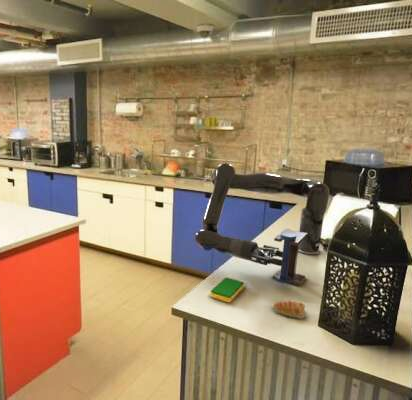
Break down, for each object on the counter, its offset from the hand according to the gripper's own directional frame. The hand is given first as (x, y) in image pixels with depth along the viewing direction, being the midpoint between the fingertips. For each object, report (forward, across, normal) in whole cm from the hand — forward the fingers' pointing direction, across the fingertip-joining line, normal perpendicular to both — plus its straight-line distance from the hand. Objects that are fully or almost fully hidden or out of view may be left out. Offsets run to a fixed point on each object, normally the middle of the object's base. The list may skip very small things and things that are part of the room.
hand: (285, 259), depth 136 cm
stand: (0, +5, +11) cm, 12 cm away
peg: (0, 0, +8) cm, 8 cm away
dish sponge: (-14, -18, +11) cm, 25 cm away
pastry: (+8, -18, +11) cm, 22 cm away
